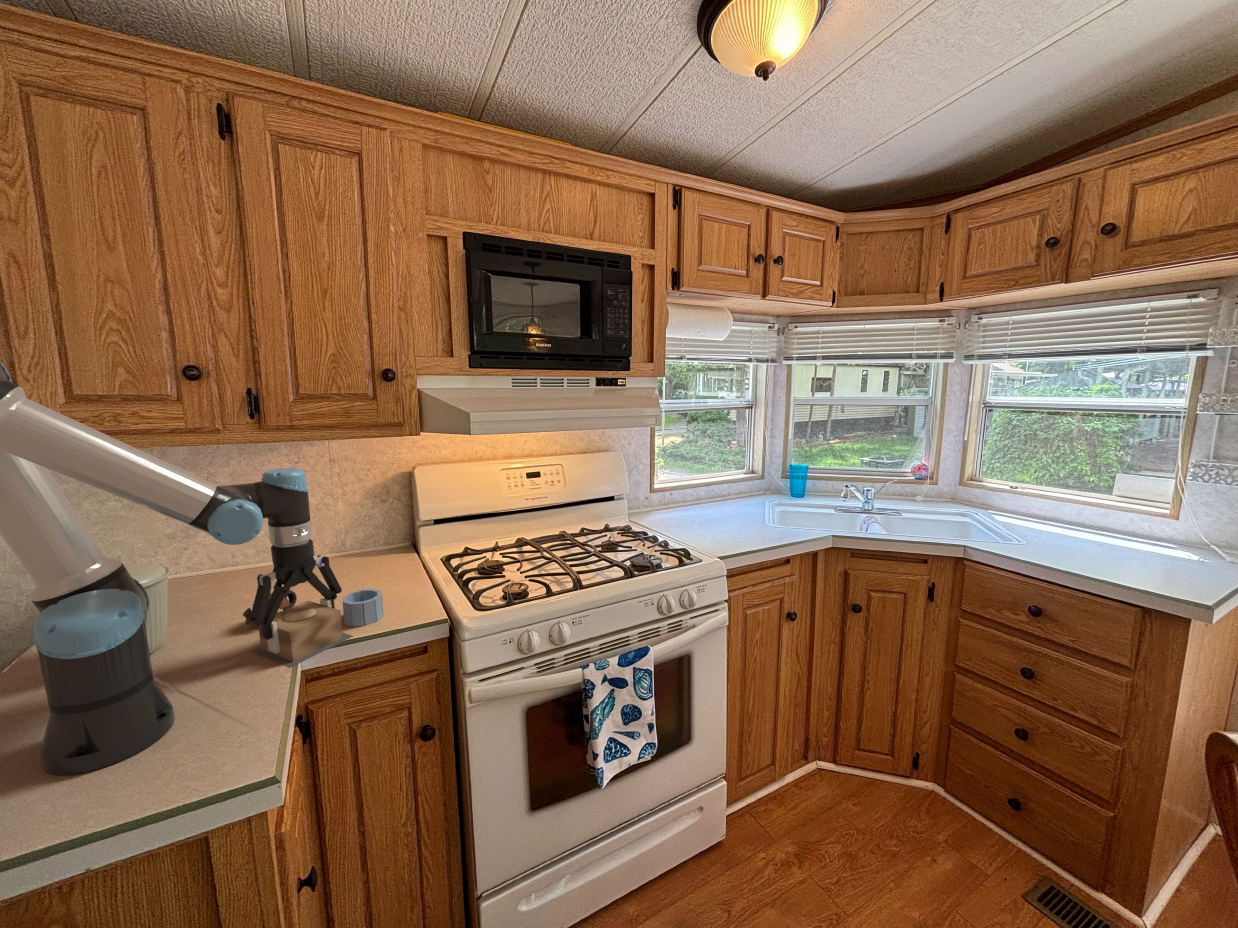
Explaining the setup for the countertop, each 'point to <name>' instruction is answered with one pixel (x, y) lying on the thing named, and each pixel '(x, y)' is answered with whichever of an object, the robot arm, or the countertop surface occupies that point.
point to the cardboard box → (305, 630)
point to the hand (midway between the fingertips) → (302, 638)
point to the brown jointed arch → (284, 605)
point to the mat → (291, 664)
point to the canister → (153, 599)
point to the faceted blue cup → (362, 607)
